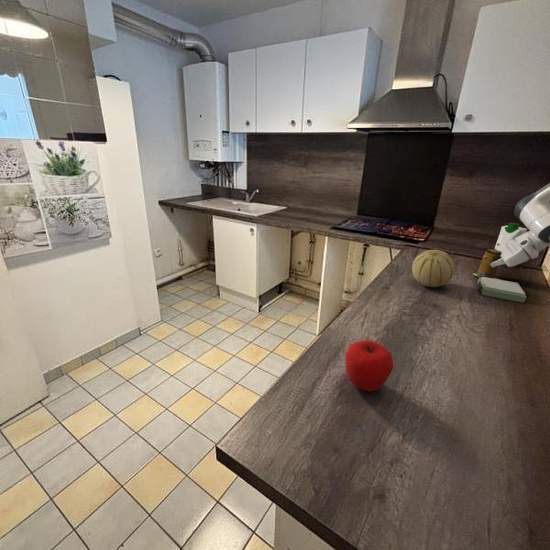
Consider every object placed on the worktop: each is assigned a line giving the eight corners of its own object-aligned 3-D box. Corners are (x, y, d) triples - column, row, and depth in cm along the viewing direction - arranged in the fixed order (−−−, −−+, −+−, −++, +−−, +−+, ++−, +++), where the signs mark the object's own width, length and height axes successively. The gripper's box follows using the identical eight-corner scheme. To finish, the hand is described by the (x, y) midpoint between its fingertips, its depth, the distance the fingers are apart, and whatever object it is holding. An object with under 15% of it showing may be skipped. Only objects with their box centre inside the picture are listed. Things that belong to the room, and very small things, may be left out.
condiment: (484, 273, 131) (493, 247, 126) (502, 280, 124) (512, 254, 119) (471, 274, 129) (480, 248, 124) (488, 282, 122) (498, 255, 117)
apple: (335, 387, 64) (341, 347, 60) (350, 364, 72) (356, 326, 67) (380, 409, 59) (390, 367, 55) (391, 381, 67) (401, 342, 62)
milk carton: (487, 261, 146) (501, 222, 138) (496, 258, 150) (510, 220, 142) (507, 267, 139) (522, 226, 131) (516, 264, 143) (531, 224, 135)
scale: (515, 290, 115) (518, 282, 114) (524, 303, 105) (527, 294, 104) (476, 283, 120) (478, 275, 119) (480, 294, 111) (483, 286, 109)
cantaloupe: (447, 282, 120) (457, 247, 114) (450, 296, 108) (462, 258, 102) (409, 275, 126) (417, 241, 120) (407, 288, 113) (416, 251, 107)
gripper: (515, 232, 125) (481, 250, 133) (528, 245, 109) (488, 264, 116) (524, 244, 126) (489, 261, 133) (538, 258, 109) (498, 276, 116)
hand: (489, 262), depth 125 cm, fingers closed on condiment, 6 cm apart
